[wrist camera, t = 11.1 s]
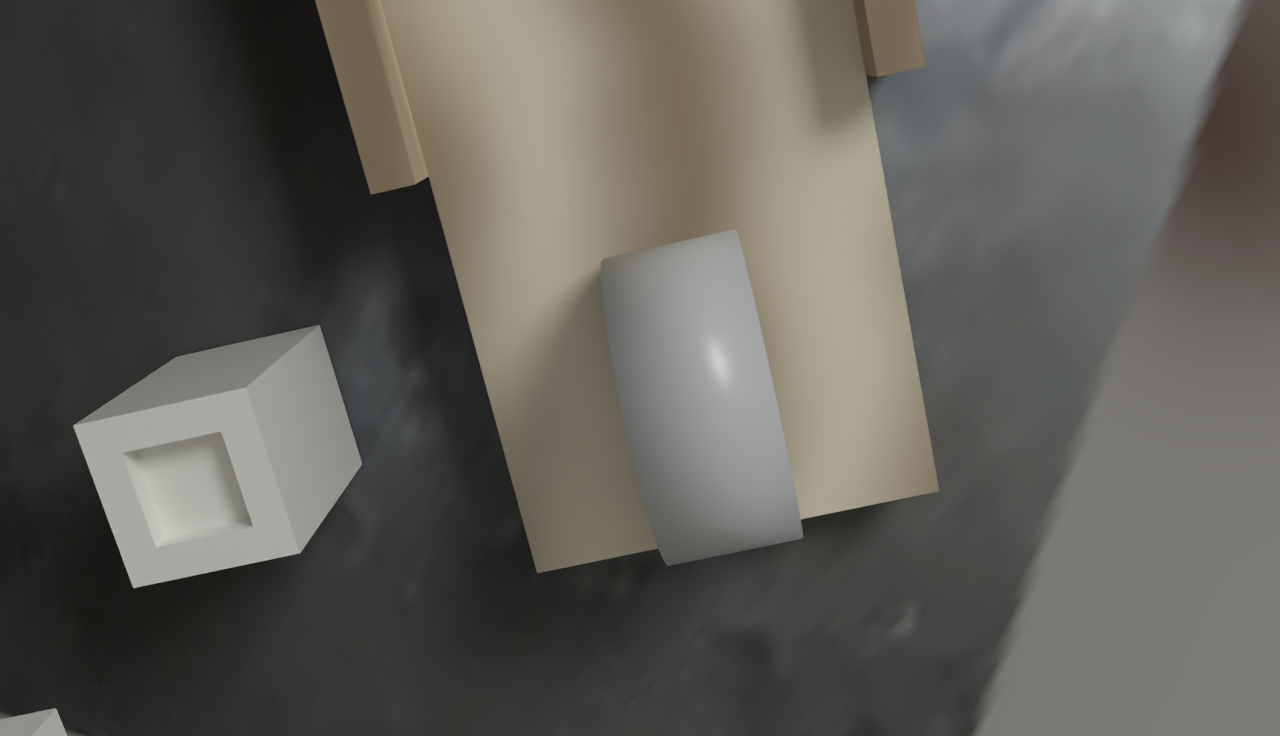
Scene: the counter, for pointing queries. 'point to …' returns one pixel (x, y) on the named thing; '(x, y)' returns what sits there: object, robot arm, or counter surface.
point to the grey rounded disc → (698, 399)
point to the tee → (222, 456)
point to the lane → (652, 219)
